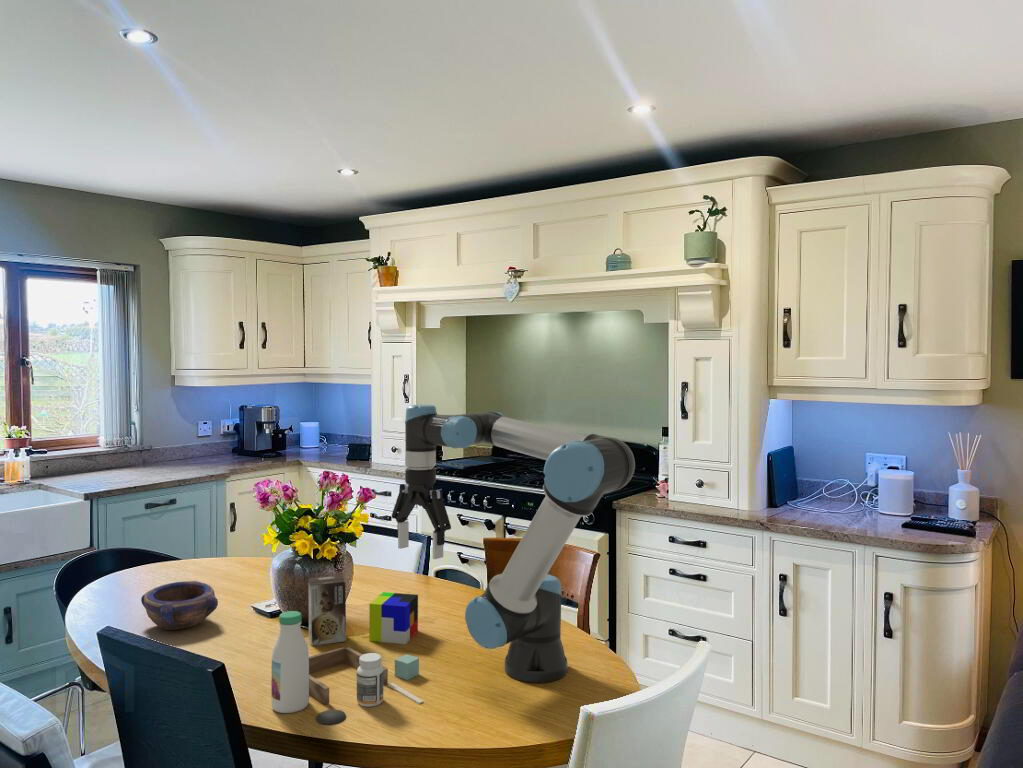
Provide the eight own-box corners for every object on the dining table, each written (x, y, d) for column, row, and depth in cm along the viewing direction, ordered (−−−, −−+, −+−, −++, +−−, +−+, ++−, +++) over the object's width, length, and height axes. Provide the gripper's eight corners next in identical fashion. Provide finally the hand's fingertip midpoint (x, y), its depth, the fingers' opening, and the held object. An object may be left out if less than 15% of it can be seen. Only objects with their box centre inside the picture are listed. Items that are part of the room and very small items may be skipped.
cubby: (387, 683, 176) (387, 668, 176) (325, 704, 165) (325, 688, 165) (346, 659, 189) (346, 645, 189) (286, 678, 178) (286, 663, 178)
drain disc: (351, 718, 159) (351, 716, 159) (325, 727, 155) (325, 726, 155) (336, 708, 163) (336, 706, 163) (310, 717, 159) (310, 715, 159)
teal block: (418, 674, 181) (419, 658, 181) (407, 680, 178) (407, 663, 178) (406, 670, 183) (406, 654, 183) (394, 676, 180) (394, 659, 180)
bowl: (154, 642, 199) (154, 604, 198) (136, 623, 213) (136, 587, 212) (224, 627, 210) (224, 591, 210) (202, 610, 224) (202, 576, 224)
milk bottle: (312, 697, 168) (312, 607, 167) (304, 714, 160) (304, 620, 160) (277, 697, 168) (277, 607, 167) (266, 714, 160) (266, 620, 159)
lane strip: (423, 702, 167) (423, 700, 167) (419, 703, 166) (419, 702, 166) (392, 684, 175) (392, 683, 175) (387, 685, 175) (387, 684, 175)
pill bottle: (369, 693, 171) (369, 649, 170) (388, 700, 167) (389, 655, 167) (351, 703, 166) (351, 658, 165) (370, 710, 163) (370, 664, 162)
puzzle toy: (405, 644, 200) (405, 606, 199) (369, 641, 202) (369, 603, 201) (417, 630, 209) (418, 594, 209) (383, 627, 211) (383, 592, 211)
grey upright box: (342, 633, 207) (342, 574, 206) (346, 642, 201) (346, 581, 200) (307, 637, 203) (307, 577, 203) (310, 646, 197) (310, 584, 197)
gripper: (465, 471, 183) (465, 559, 184) (401, 460, 200) (401, 541, 201) (441, 474, 178) (441, 565, 178) (378, 463, 195) (377, 546, 196)
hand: (420, 552), depth 190 cm, fingers open, 13 cm apart
